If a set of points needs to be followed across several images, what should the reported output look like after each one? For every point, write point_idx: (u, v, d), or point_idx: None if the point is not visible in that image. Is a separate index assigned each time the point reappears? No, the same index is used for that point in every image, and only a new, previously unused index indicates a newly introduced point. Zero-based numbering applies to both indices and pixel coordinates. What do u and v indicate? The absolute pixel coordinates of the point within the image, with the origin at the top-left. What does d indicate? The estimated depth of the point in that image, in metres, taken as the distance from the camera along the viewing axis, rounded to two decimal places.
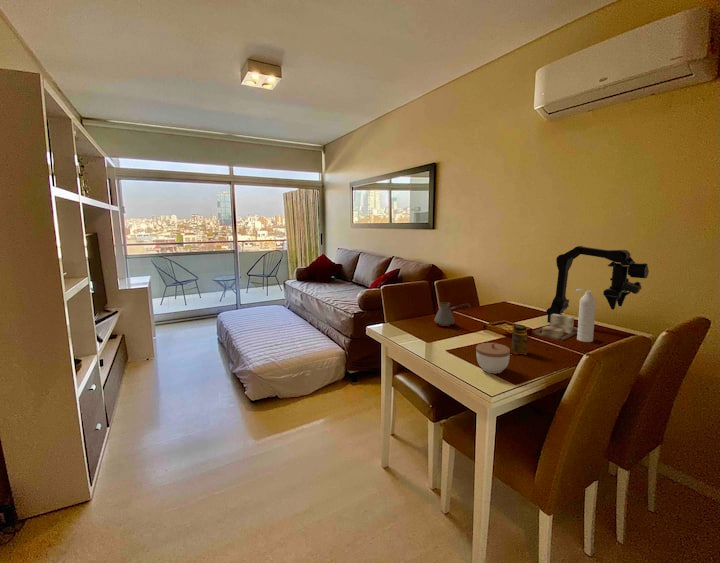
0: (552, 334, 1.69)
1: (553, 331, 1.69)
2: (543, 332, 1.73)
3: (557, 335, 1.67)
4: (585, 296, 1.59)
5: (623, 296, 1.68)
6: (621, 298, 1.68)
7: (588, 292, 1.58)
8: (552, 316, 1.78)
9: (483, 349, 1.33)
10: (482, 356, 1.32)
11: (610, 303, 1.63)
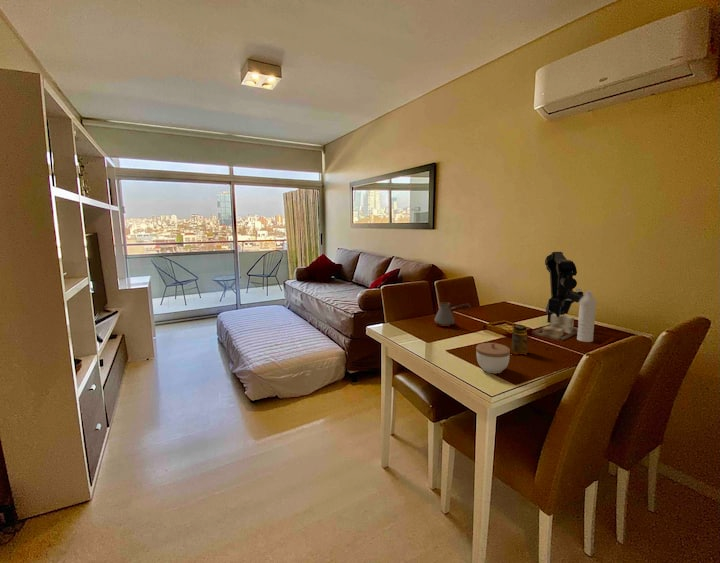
0: (552, 334, 1.69)
1: (554, 331, 1.69)
2: (543, 332, 1.72)
3: (558, 335, 1.67)
4: (585, 296, 1.59)
5: (569, 304, 1.77)
6: (567, 306, 1.78)
7: (588, 292, 1.58)
8: (552, 316, 1.78)
9: (483, 349, 1.33)
10: (482, 356, 1.32)
11: (555, 311, 1.73)
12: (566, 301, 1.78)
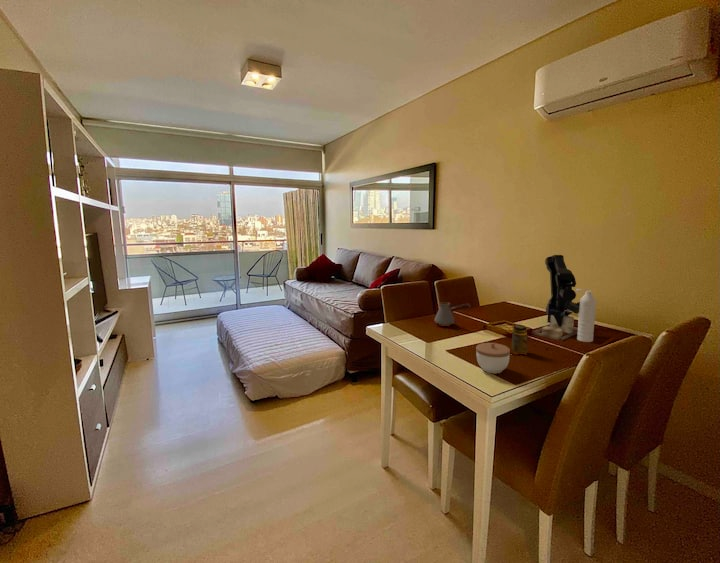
0: (552, 334, 1.69)
1: (554, 331, 1.68)
2: (543, 332, 1.72)
3: (557, 335, 1.67)
4: (585, 296, 1.59)
5: None
6: None
7: (588, 292, 1.58)
8: (552, 316, 1.78)
9: (483, 349, 1.33)
10: (482, 356, 1.32)
11: (557, 321, 1.75)
12: None
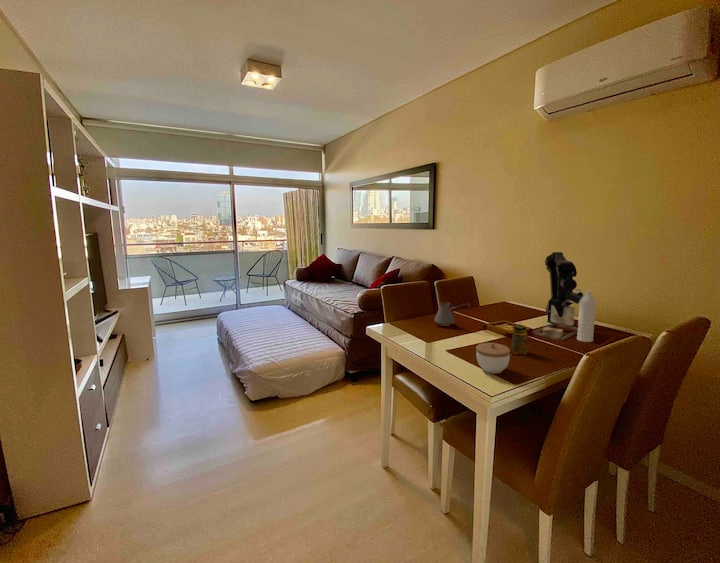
0: (553, 335, 1.69)
1: (554, 332, 1.69)
2: (543, 333, 1.72)
3: (558, 336, 1.68)
4: (585, 296, 1.59)
5: None
6: None
7: (588, 292, 1.58)
8: (553, 307, 1.78)
9: (483, 349, 1.33)
10: (482, 356, 1.32)
11: (558, 311, 1.75)
12: None
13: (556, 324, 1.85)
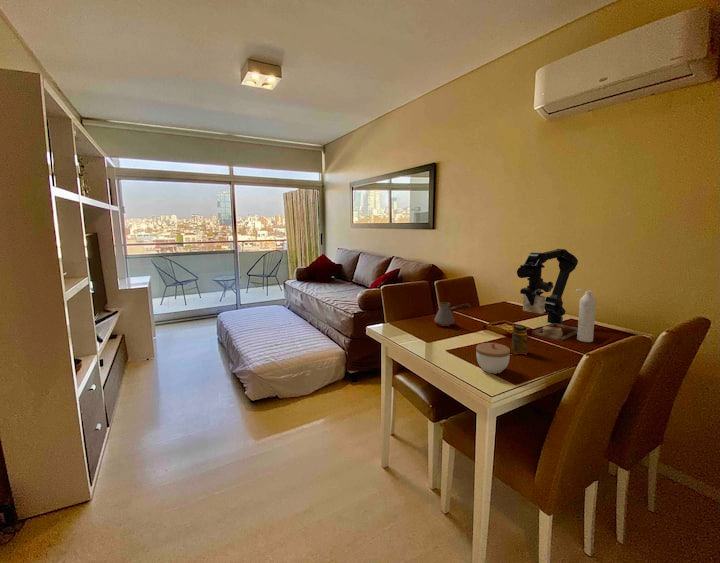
0: (553, 334, 1.69)
1: (555, 331, 1.68)
2: (543, 333, 1.72)
3: (559, 335, 1.68)
4: (585, 296, 1.59)
5: None
6: None
7: (588, 292, 1.58)
8: (525, 296, 1.84)
9: (483, 349, 1.33)
10: (482, 356, 1.32)
11: (529, 300, 1.82)
12: (535, 292, 1.84)
13: (556, 324, 1.85)
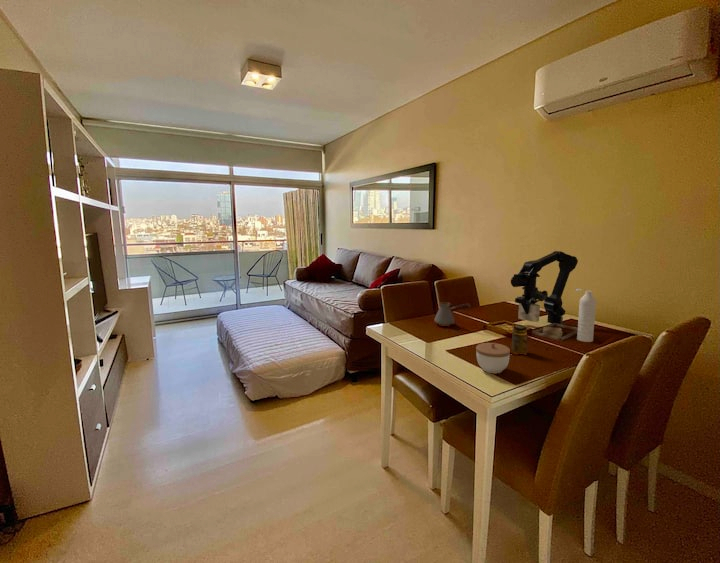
0: (553, 334, 1.69)
1: (555, 331, 1.68)
2: (543, 333, 1.72)
3: (559, 335, 1.68)
4: (585, 296, 1.59)
5: None
6: None
7: (588, 292, 1.58)
8: (520, 304, 1.87)
9: (483, 349, 1.33)
10: (482, 356, 1.32)
11: (524, 308, 1.84)
12: (530, 301, 1.86)
13: (556, 324, 1.85)
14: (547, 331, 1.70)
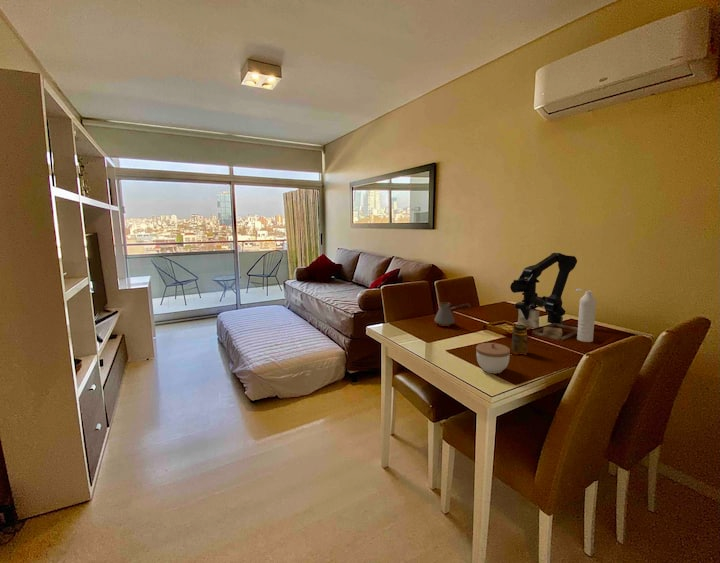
0: (553, 334, 1.69)
1: (556, 331, 1.69)
2: (544, 333, 1.72)
3: (559, 335, 1.68)
4: (585, 296, 1.59)
5: None
6: None
7: (588, 292, 1.58)
8: (520, 310, 1.87)
9: (483, 349, 1.33)
10: (482, 356, 1.32)
11: (524, 314, 1.84)
12: (530, 306, 1.86)
13: (556, 324, 1.85)
14: (548, 331, 1.70)
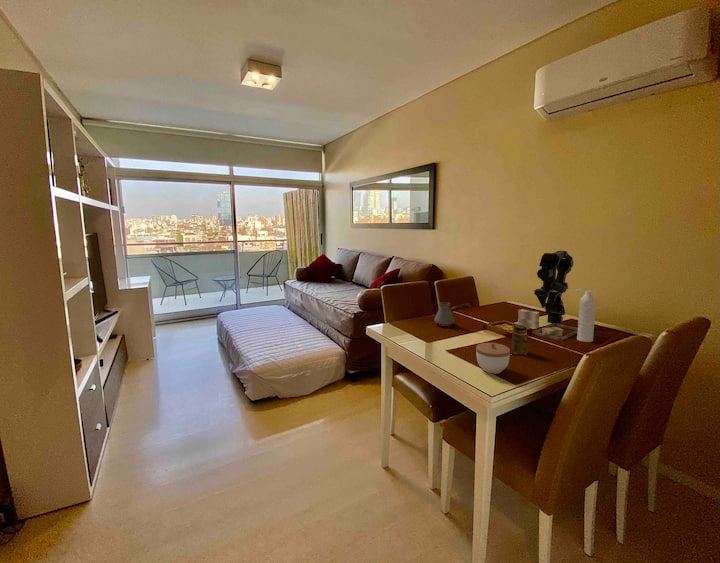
0: (555, 334, 1.69)
1: (559, 331, 1.69)
2: None
3: (560, 335, 1.69)
4: (585, 296, 1.59)
5: (554, 295, 1.82)
6: (553, 297, 1.82)
7: (588, 292, 1.58)
8: (520, 311, 1.88)
9: (483, 349, 1.33)
10: (482, 355, 1.32)
11: (541, 302, 1.77)
12: (552, 292, 1.83)
13: (556, 324, 1.85)
14: (552, 332, 1.69)
